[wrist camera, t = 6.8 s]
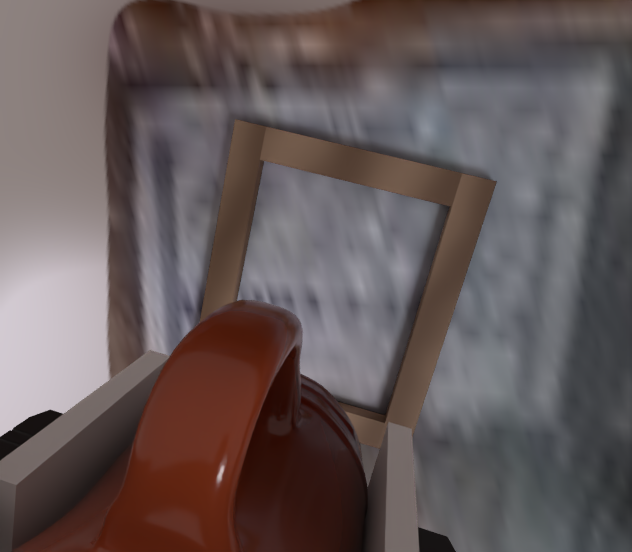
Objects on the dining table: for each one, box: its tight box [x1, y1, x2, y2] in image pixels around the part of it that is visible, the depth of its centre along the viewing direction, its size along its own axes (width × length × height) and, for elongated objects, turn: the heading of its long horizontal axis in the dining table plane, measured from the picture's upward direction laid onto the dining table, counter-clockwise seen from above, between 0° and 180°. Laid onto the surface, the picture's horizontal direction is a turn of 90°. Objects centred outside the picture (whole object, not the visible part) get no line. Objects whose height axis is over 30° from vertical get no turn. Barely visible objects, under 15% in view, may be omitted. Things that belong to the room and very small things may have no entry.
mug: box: [11, 300, 368, 552], centre depth 11 cm, size 12×9×10 cm
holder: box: [200, 119, 497, 449], centre depth 30 cm, size 16×19×1 cm
